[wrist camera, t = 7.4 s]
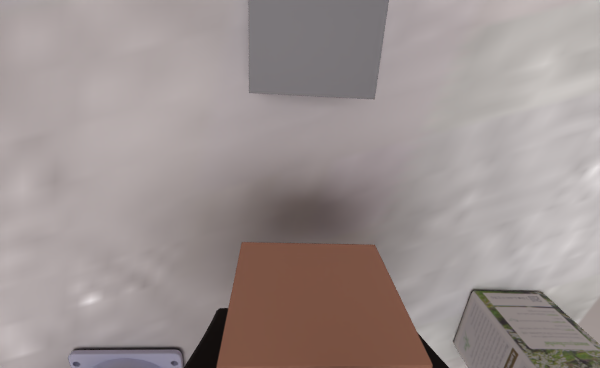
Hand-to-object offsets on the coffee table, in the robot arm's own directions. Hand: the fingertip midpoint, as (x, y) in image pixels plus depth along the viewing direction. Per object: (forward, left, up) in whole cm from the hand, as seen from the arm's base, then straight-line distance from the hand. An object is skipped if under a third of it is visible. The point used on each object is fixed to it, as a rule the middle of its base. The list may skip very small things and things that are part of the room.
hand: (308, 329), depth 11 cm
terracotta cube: (0, 0, -2) cm, 2 cm away
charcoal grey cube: (+10, 0, -10) cm, 14 cm away
